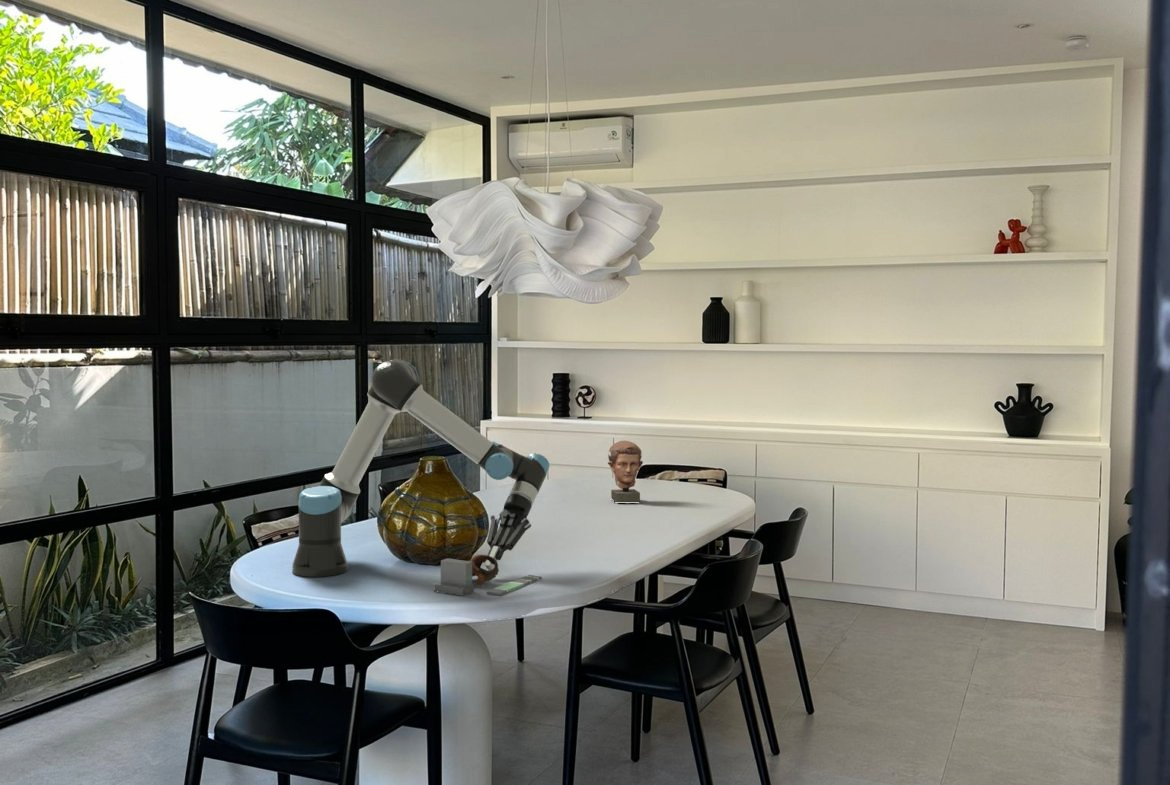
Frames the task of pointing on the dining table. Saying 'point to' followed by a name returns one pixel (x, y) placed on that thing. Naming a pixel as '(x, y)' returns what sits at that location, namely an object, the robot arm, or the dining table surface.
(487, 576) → the pottery mug
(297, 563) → the robot arm
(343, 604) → the dining table surface
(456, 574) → the striated grey slab
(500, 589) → the gauge strip
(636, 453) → the bust
